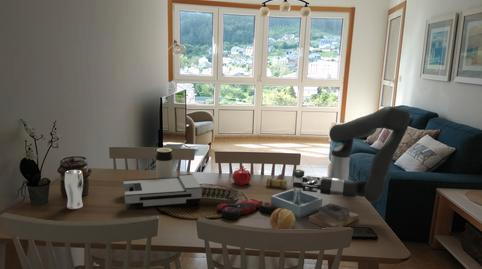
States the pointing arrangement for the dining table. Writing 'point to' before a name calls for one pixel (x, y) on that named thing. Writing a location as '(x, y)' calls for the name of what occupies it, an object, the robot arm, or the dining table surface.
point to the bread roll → (282, 219)
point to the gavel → (277, 182)
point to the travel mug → (164, 163)
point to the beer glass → (74, 188)
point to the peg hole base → (333, 216)
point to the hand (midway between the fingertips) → (294, 181)
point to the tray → (286, 202)
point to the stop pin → (297, 191)
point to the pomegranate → (241, 176)
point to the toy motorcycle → (245, 208)
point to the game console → (162, 192)
